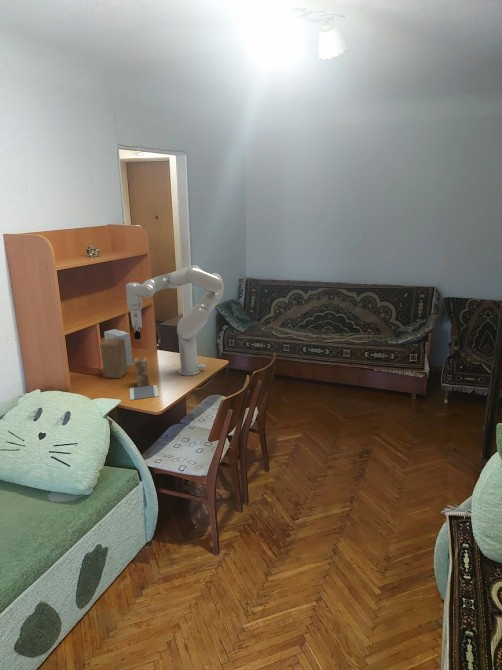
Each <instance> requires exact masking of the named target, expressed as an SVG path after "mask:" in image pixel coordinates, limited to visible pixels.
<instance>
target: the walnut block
mask: <svg viewBox="0 0 502 670" xmlns="http://www.w3.org/2000/svg"><path fill="white" fill-rule="evenodd" d="M147 360H148V359H147V356H143V357H134V366H135V367H134V368H135V376H136V377H135V378H136V385H137V386H136V387H144V386H150V381H149V379H150V378H149V369H148V361H147Z"/></svg>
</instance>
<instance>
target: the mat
mask: <svg viewBox="0 0 502 670" xmlns="http://www.w3.org/2000/svg"><path fill="white" fill-rule="evenodd" d="M158 397H160V395H159V387H158V385H157V384H153V385H149V386H144V387H137V386H136V387H130V388H129V401H133V400H136V401H137V400H142V399H150V398H158Z"/></svg>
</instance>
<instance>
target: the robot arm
mask: <svg viewBox="0 0 502 670" xmlns="http://www.w3.org/2000/svg"><path fill="white" fill-rule="evenodd" d="M188 284H192V285H194V286H196V287H198V288H201V289H203V290H206V292H205V294H204V295H203V296H202V297H201V298H200V299H199V300H198V302H196V303H195V304H194V305H193V306H192V308H191V311H190V313H189V314H188V315H187V316H183V317H181V318H180V319H179V321H178V322H177V325H176V326H177V327H176V333H177V335H178V349H179V351H178V352H179V360H180V361H179V362H180V363H179V365H180V368H179V369H178V370H177V371H178V372H177V373H178V374H179V375H181V376H187V377H188V376H189V377H190V376H195V375H198V374H199V373H201V371H202V369H204V368H205V369H206V368H207V365H206V363H199V362H198V350H197V333H198V332H199V331H200V330H201V329H202V328H203V327H204V326H205V325H206V323H208V320H209V317H210V314H211V312H212V311H213V309H215V308H216V306H217V305H218V304H219V303H220V301H221V300H222V298H223V295H224V291H225V290H224V289H225V284H224V279H223V278H222V276H221V275H220V274H219V273H217V272H213V273H208V272H207V271H204V270H202V268H201V267H200V266H198V265H196V264H194V265H189V266H186V267H183V268H180V269H178V270H175V271H172V272H169V273H166V274H162V275H158V276H156V277H152V278H150V279H147V280H145V281H144V282H143V283H141V284H140V283H139V282H128V283H126V285H125V290H126V291H125V292H126V293H125V294H126V304H127V310H128V311H130V319H131V320H130V321H131V326H132V328H133V329H134V330H133V335H134V340H140V339H141V338H142V337H141V331H140V328H142V327H143V322H142V321H143V320H142V311H141V310H142V309H143V299H142V298H151V297H153V296H154V295H155V293H156V292H159V291H161V290H165V289H166V290H167V289H178V288H180V287H183V286H186V285H188ZM201 368H202V369H201Z"/></svg>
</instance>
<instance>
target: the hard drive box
mask: <svg viewBox="0 0 502 670" xmlns="http://www.w3.org/2000/svg"><path fill="white" fill-rule="evenodd" d="M103 335H104V341H105V340H107V339H124V342H125V351H126V360H127V368H130V367H131V366H133V357H132V356H133V355H132V348H131V340H130V339H131V338H130V333H128V332H126V331H122V330H119V329H115V328H114V329H110V330H106V331H104V332H103Z"/></svg>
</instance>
